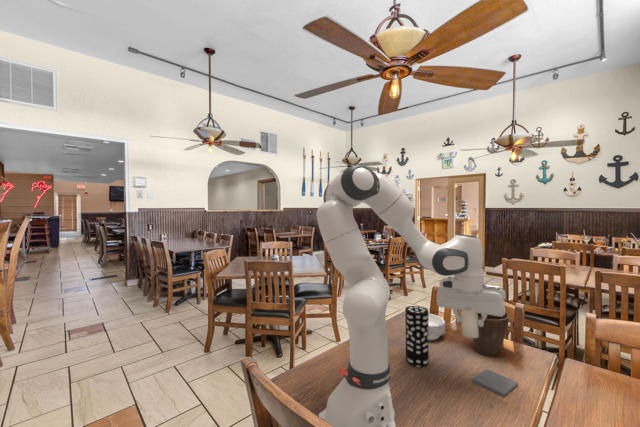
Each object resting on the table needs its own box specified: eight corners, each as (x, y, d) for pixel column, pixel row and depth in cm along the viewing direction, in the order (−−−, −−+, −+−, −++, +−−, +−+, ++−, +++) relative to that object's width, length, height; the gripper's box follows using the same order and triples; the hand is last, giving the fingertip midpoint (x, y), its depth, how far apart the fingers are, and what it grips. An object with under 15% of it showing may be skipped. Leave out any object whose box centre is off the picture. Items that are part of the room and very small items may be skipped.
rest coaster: (504, 397, 91) (504, 394, 91) (471, 381, 99) (471, 378, 99) (518, 385, 96) (518, 382, 96) (486, 371, 105) (486, 368, 105)
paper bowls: (435, 347, 123) (435, 328, 123) (403, 335, 134) (403, 318, 134) (451, 335, 133) (451, 318, 133) (420, 326, 144) (420, 310, 144)
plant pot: (506, 365, 108) (506, 322, 108) (462, 353, 118) (462, 313, 117) (511, 349, 120) (511, 311, 120) (470, 339, 129) (470, 303, 129)
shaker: (463, 337, 96) (462, 307, 96) (460, 331, 101) (459, 303, 101) (480, 338, 95) (479, 308, 95) (476, 332, 100) (475, 303, 99)
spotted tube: (430, 368, 107) (430, 314, 107) (406, 366, 109) (406, 313, 108) (426, 356, 115) (426, 306, 115) (404, 354, 117) (404, 305, 116)
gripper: (506, 284, 94) (507, 327, 94) (439, 277, 106) (440, 315, 106) (504, 289, 89) (505, 334, 89) (434, 281, 101) (436, 321, 101)
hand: (469, 324), depth 98 cm, fingers closed on shaker, 5 cm apart
